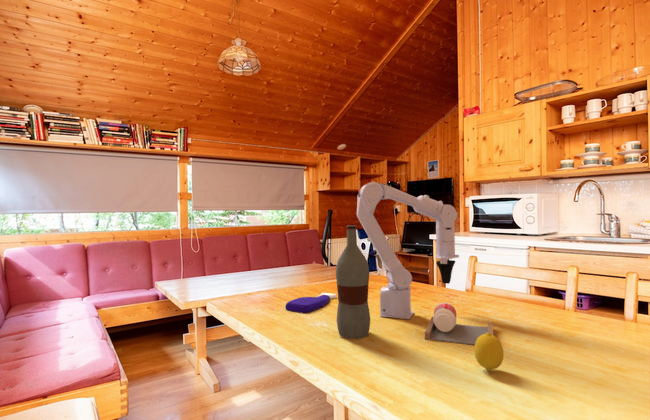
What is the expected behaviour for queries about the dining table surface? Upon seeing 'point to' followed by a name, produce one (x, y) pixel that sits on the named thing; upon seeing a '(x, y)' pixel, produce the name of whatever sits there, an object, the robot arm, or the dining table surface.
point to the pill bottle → (444, 317)
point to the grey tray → (457, 333)
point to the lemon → (488, 351)
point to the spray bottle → (309, 303)
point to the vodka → (352, 290)
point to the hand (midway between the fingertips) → (446, 283)
